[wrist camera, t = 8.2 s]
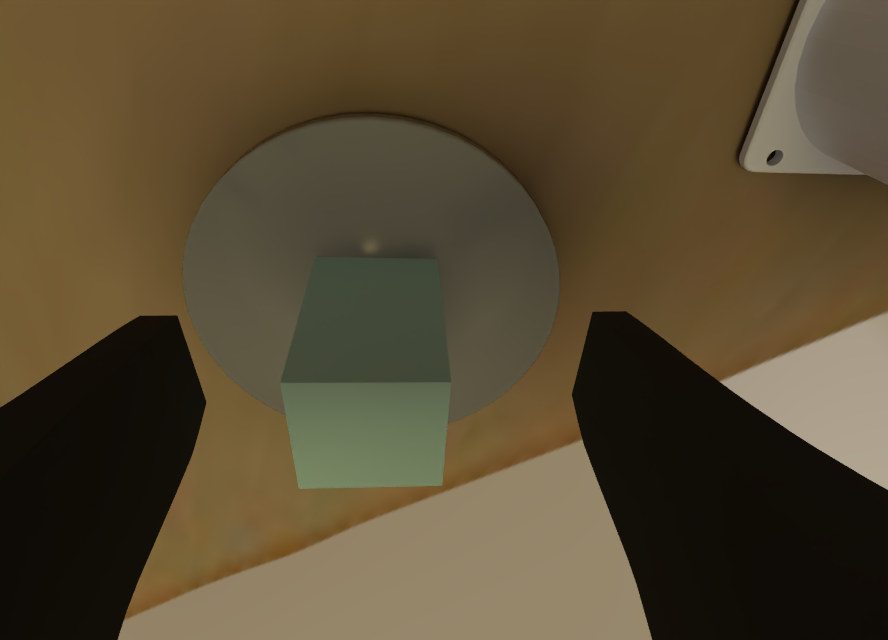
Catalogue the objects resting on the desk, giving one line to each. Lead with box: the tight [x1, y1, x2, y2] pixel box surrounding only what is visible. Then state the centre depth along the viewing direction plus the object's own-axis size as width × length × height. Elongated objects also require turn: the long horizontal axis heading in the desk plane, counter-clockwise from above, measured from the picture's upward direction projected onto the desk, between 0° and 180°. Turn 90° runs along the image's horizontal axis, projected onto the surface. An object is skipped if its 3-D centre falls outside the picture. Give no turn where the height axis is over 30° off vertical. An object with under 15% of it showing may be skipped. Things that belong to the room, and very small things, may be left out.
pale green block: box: [280, 257, 451, 489], centre depth 16 cm, size 4×4×6 cm
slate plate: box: [182, 113, 560, 423], centre depth 19 cm, size 13×13×2 cm
